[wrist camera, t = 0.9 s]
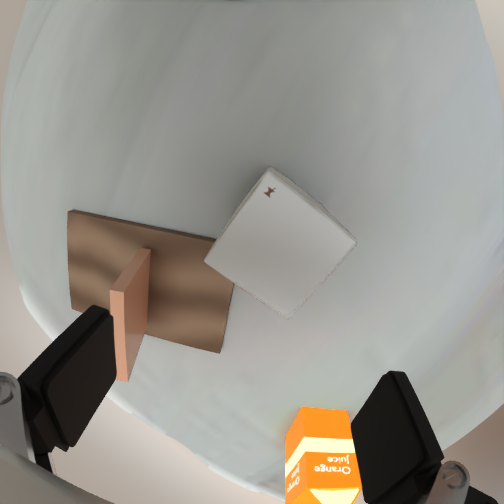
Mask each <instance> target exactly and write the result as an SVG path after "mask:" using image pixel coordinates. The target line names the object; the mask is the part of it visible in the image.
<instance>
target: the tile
mask: <svg viewBox="0 0 504 504" xmlns="http://www.w3.org/2000/svg"><path fill="white" fill-rule="evenodd" d="M150 258H151V249H144V248H140V249H139V251H138V252H137V253H136V255H135V256H134V257H133V259H132V260H131V261H130V263H129V264H128V265H127V267H126V268H125V269H124V271H123V272H122V273H121V275H120V276H119V278H118V279H117V280H116V282H115V283H114V285H113V286H112V287H111V289H110V310H111V315H112V316H113V319H114V340H115V355H116V367H117V376H116V378H117V380H120V381H125V382H129V378H130V375H131V372H132V369H133V366H134V363H135V360H136V357H137V354H138V351H139V348H140V345H141V342H142V340H143V337H144V334H145V331H146V328H147V319H148V290H149V272H150Z"/></svg>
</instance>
